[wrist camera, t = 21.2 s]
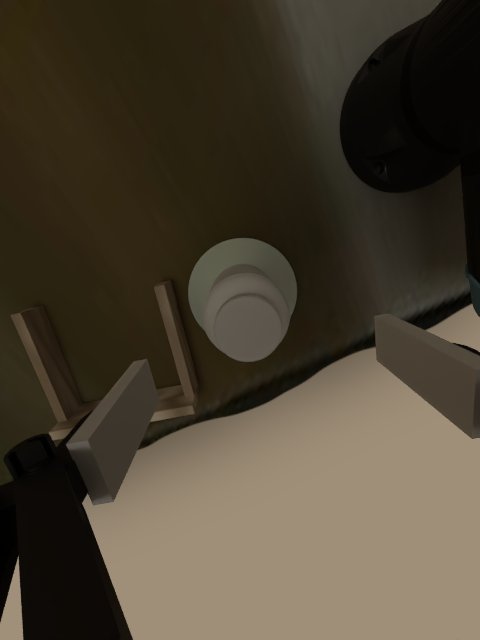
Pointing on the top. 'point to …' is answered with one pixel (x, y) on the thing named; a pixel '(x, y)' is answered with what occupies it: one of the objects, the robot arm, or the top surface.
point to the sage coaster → (234, 255)
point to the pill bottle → (245, 313)
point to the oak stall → (61, 383)
